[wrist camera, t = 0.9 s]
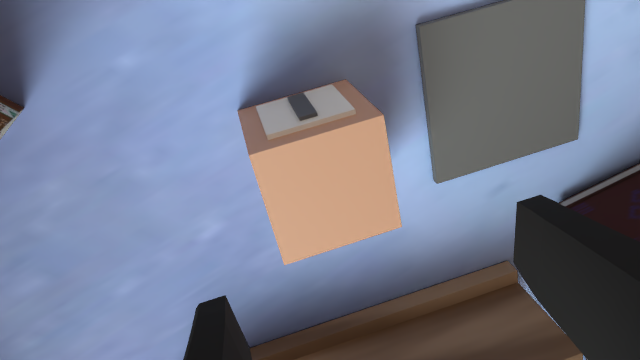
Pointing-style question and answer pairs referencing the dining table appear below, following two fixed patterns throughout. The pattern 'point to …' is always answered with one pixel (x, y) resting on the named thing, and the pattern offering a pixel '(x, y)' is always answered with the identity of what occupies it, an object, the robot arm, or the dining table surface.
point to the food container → (8, 114)
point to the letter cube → (322, 169)
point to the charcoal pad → (500, 82)
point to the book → (612, 202)
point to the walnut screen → (437, 326)
